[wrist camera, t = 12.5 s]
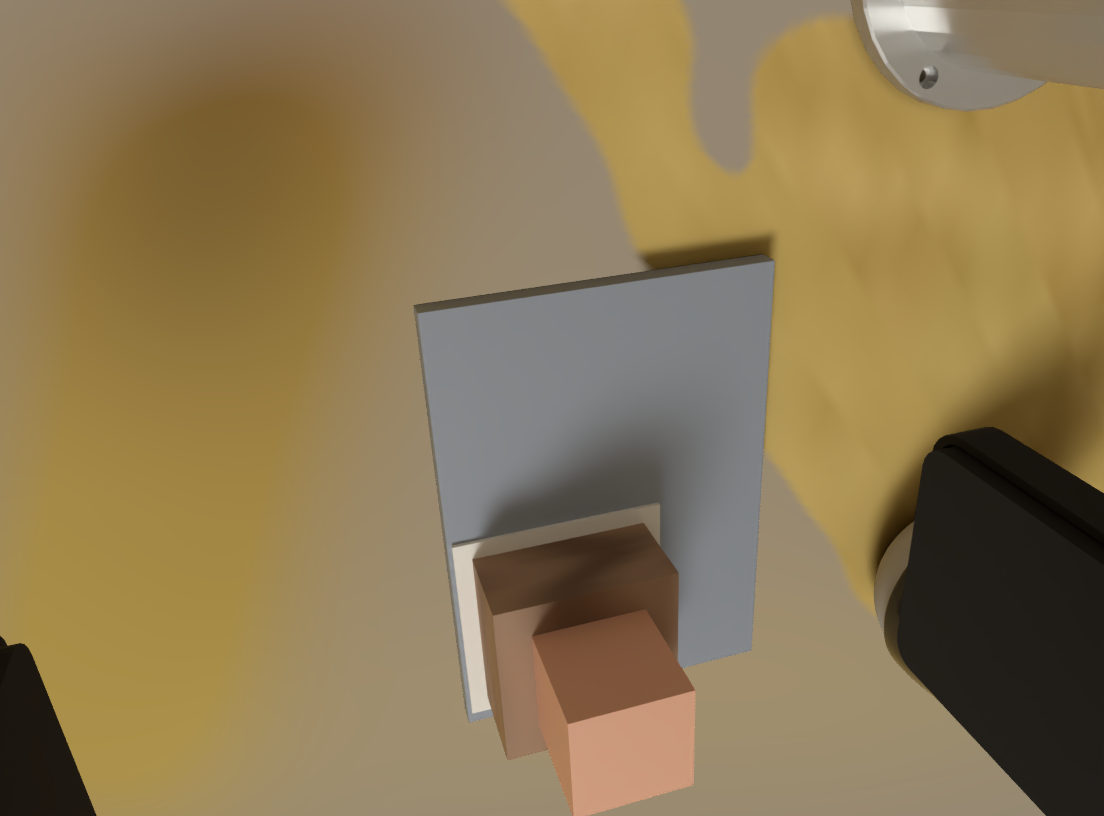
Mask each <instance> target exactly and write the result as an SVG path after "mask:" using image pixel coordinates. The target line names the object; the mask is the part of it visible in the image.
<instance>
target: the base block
mask: <svg viewBox="0 0 1104 816" xmlns="http://www.w3.org/2000/svg"><path fill="white" fill-rule="evenodd" d="M472 562H473V571H474V580H475V589H476V598H477V607H478V616H479V625H480V634H481V643H482V652H483V661H484V670H485V679H486V688H487V696H488V700H489V703H490V706H491V709H492V713H493V716H494V719H495V722H496V725H497V728H498V732H499V734H500V738H501V741H502V744H503V747H504V751H505V754H506V757H507V760H511V759H515V758H518V757H522V756H526V755H529V754H533V753H537V752H541V751H545V750H548V749H547V746H546V743H545V740H544V738H543V735H542V732H541V730H540V727H539V718H538V706H537V694H536V682H535V670H534V658H533V647H532V636H536V635H540V634H544V633H548V632H552V631H557V630H561V629H565V628H569V627H573V626H577V625H582V624H586V623H590V622H594V621H598V620H602V619H607V618H611V617H615V616H619V615H623V614H627V613H632V612H636V611H640V610H644V609H646V610H647V612H648V613H649V615H650V617H651V618H652V620H653V622H654V623H655V625H656V627H657V628H658V630H659V631H660V633H661V635H662V636H663V638H664V640H665V641H666V643H667V645H668V646H669V648H670V650H671V651H672V653H673V654H674V656H675V658H676V659H677V661H678V607H679V573H678V571H677V570H676V568H675V567H674V565H673V564H672V563H671V561H670V560H669V558H668V557H667V555H666V554H665V553H664V551H663V550H662V548H661V547H660V545H659V544H658V543H657V541H656V540H655V538H654V537H653V535H652V534H651V533H650V531H649V530H648V528H647V527H646V525H645V524H644V523H641V524H636V525H631V526H627V527H622V528H617V529H612V530H608V531H603V532H598V533H594V534H589V535H584V536H580V537H575V538H570V539H566V540H561V541H556V542H552V543H547V544H542V545H538V546H533V547H528V548H523V549H519V550H514V551H509V552H505V553H500V554H495V555H491V556H486V557H481V558H477V559H472Z"/></svg>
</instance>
